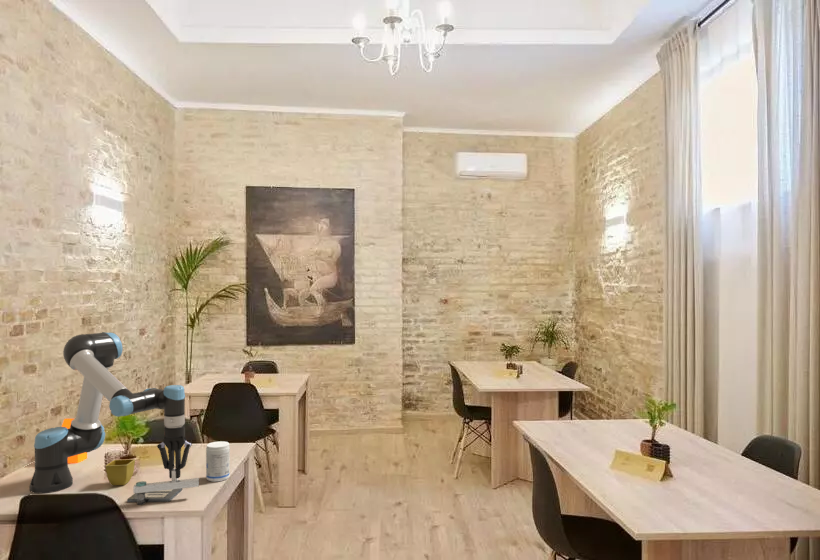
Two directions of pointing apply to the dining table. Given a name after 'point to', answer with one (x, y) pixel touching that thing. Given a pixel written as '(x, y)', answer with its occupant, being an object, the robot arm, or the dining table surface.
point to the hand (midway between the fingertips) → (174, 486)
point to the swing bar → (165, 485)
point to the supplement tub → (217, 461)
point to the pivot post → (140, 498)
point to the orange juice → (75, 458)
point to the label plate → (157, 496)
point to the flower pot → (120, 471)
